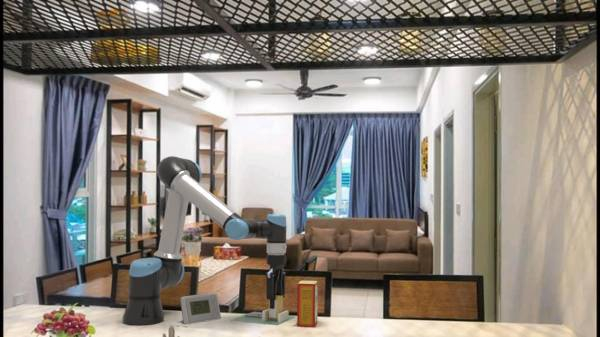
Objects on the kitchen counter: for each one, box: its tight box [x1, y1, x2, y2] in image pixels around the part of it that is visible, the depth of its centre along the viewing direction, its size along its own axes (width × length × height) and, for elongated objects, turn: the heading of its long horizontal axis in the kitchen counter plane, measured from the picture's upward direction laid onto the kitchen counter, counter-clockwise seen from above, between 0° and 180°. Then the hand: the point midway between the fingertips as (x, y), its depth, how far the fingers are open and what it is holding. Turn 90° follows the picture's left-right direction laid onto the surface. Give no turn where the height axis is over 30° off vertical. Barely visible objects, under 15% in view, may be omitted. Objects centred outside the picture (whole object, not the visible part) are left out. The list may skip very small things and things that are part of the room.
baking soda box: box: [296, 279, 319, 328], centre depth 184 cm, size 10×6×16 cm
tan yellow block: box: [268, 295, 284, 319], centre depth 185 cm, size 4×4×8 cm
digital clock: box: [179, 292, 222, 328], centre depth 183 cm, size 16×9×11 cm, turn 122°
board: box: [230, 308, 296, 326], centre depth 187 cm, size 20×17×5 cm
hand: (275, 315), depth 185 cm, fingers closed on tan yellow block, 4 cm apart
